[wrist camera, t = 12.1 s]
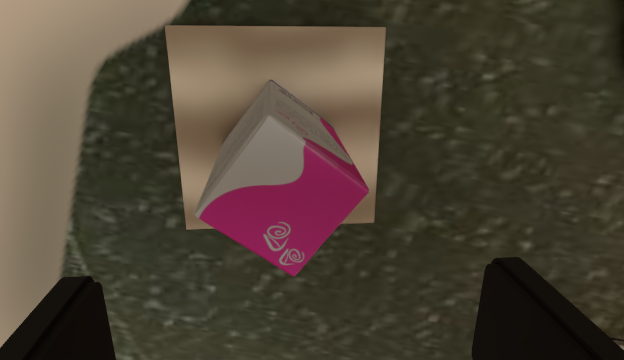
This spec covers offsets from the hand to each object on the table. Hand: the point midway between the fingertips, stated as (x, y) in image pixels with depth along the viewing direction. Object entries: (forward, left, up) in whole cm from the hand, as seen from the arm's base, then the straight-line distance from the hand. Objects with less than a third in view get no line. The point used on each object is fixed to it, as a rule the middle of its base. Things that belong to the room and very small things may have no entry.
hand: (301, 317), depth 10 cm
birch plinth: (0, 0, -24) cm, 24 cm away
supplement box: (0, 0, -20) cm, 20 cm away
